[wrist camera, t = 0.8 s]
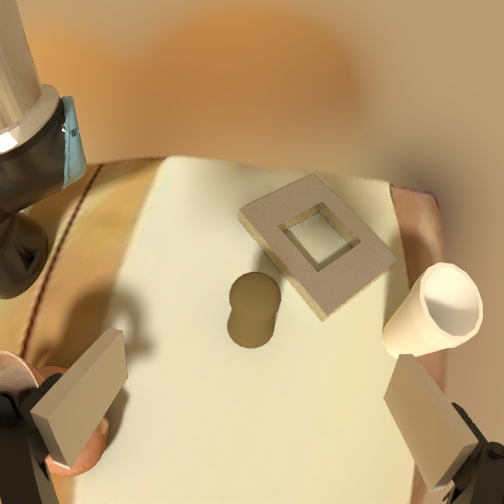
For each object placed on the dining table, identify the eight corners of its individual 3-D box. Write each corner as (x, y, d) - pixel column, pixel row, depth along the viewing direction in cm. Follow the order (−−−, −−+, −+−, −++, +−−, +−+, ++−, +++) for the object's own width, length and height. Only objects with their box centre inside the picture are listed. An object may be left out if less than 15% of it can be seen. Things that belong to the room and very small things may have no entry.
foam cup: (406, 383, 35) (465, 359, 24) (359, 341, 38) (405, 304, 27) (436, 333, 39) (490, 296, 28) (394, 295, 42) (439, 248, 31)
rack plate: (238, 219, 48) (238, 209, 46) (310, 184, 53) (313, 174, 51) (322, 322, 40) (327, 315, 37) (391, 267, 45) (397, 259, 42)
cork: (259, 297, 41) (267, 253, 32) (283, 335, 38) (299, 301, 29) (219, 316, 39) (213, 277, 30) (241, 356, 37) (243, 330, 27)
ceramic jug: (123, 374, 34) (68, 342, 22) (129, 482, 27) (73, 502, 15) (19, 366, 33) (-45, 332, 21) (19, 458, 25) (-51, 452, 13)
